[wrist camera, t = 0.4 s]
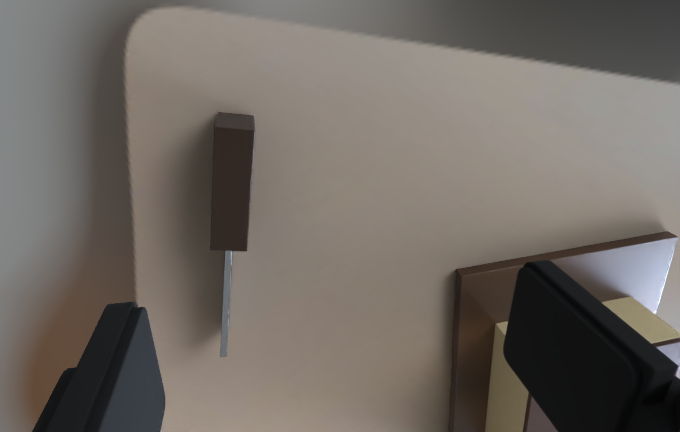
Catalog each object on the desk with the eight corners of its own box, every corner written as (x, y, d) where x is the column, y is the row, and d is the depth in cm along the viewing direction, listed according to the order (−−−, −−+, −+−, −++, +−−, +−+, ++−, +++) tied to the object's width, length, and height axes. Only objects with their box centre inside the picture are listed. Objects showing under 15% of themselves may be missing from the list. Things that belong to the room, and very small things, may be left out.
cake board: (455, 269, 33) (461, 276, 32) (667, 230, 36) (678, 236, 35) (446, 475, 44) (451, 484, 43) (610, 434, 46) (618, 443, 45)
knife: (218, 111, 25) (214, 126, 22) (253, 115, 26) (255, 130, 22) (210, 326, 31) (206, 361, 28) (239, 326, 32) (239, 361, 28)
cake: (494, 323, 35) (535, 373, 30) (631, 295, 37) (689, 339, 32) (483, 443, 41) (515, 500, 36) (600, 415, 43) (645, 466, 38)
